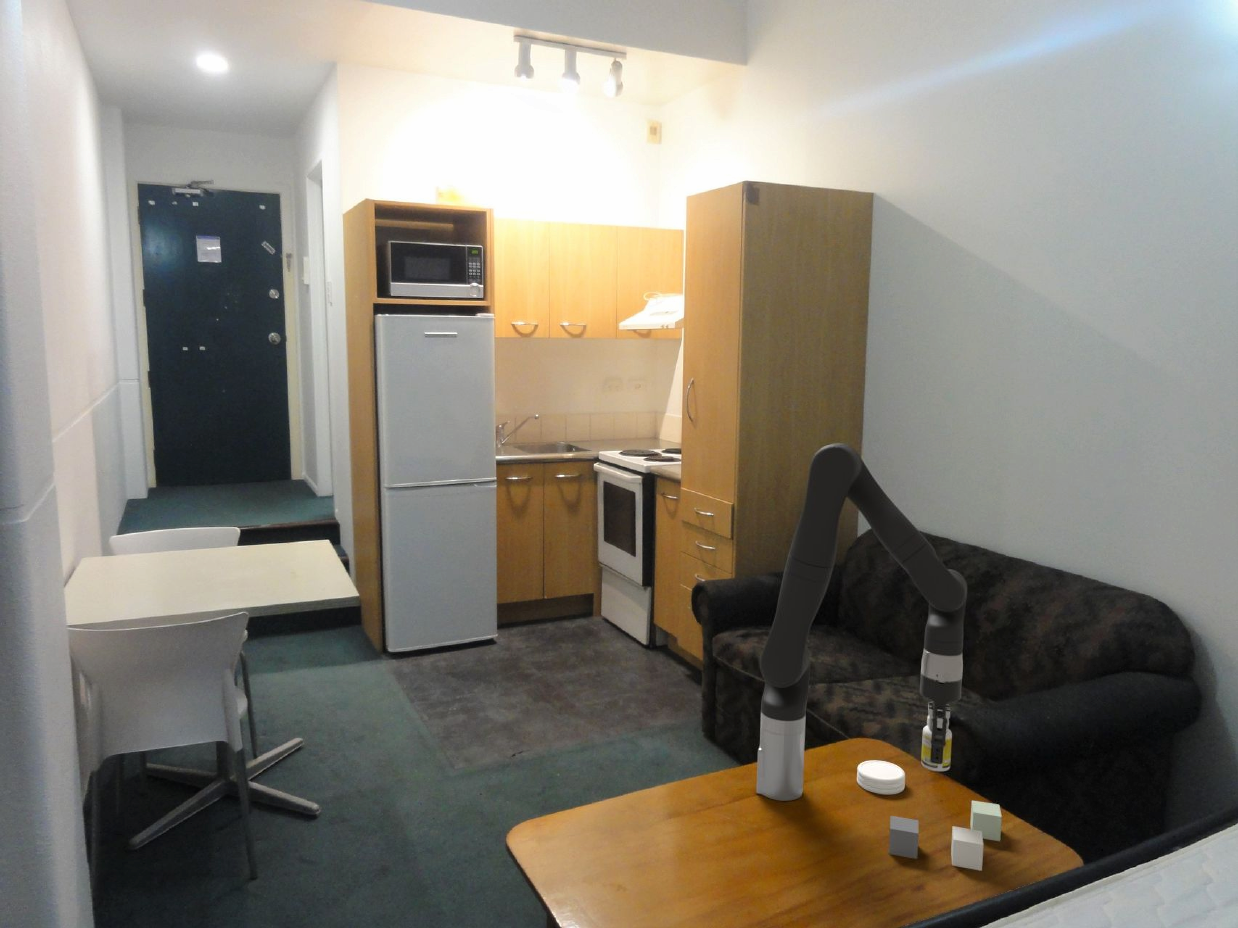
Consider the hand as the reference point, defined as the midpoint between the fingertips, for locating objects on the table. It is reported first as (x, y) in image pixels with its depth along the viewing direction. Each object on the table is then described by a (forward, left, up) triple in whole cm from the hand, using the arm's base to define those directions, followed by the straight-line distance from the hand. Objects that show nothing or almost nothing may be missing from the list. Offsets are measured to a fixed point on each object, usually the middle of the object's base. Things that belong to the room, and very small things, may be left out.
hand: (935, 755), depth 171 cm
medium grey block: (-5, -12, -14) cm, 19 cm away
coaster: (-10, +14, -14) cm, 23 cm away
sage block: (+10, 0, -14) cm, 17 cm away
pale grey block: (+6, -12, -14) cm, 19 cm away
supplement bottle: (0, 0, -2) cm, 2 cm away
